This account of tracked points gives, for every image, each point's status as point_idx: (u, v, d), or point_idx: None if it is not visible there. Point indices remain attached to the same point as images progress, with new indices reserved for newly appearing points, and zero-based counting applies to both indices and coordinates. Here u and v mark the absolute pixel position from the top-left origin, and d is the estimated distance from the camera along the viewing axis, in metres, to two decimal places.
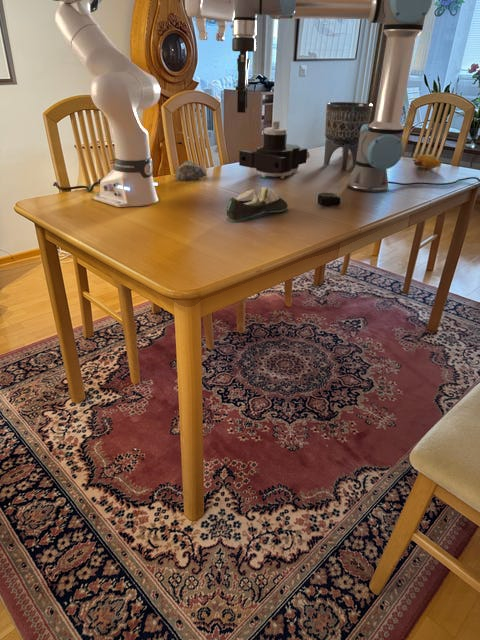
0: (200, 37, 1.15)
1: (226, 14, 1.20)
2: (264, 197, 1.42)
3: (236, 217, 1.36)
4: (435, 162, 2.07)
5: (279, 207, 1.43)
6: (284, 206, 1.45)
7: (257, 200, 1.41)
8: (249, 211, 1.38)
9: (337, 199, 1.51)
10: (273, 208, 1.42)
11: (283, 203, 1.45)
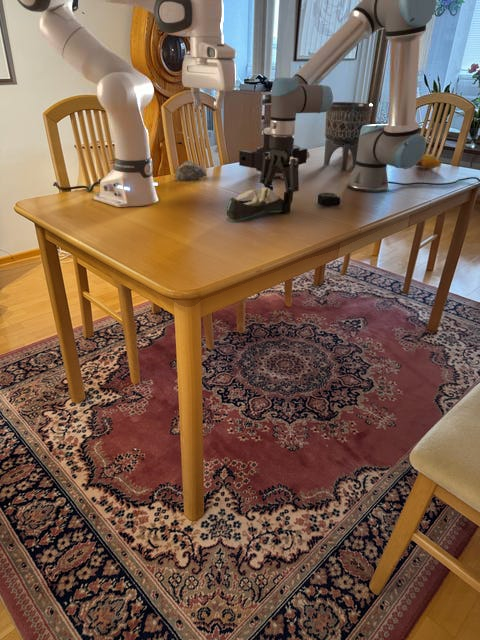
0: (218, 106, 1.24)
1: None
2: (264, 197, 1.42)
3: (236, 217, 1.36)
4: (435, 162, 2.07)
5: (279, 207, 1.43)
6: None
7: (257, 200, 1.41)
8: (249, 211, 1.38)
9: (337, 199, 1.51)
10: (273, 208, 1.42)
11: None
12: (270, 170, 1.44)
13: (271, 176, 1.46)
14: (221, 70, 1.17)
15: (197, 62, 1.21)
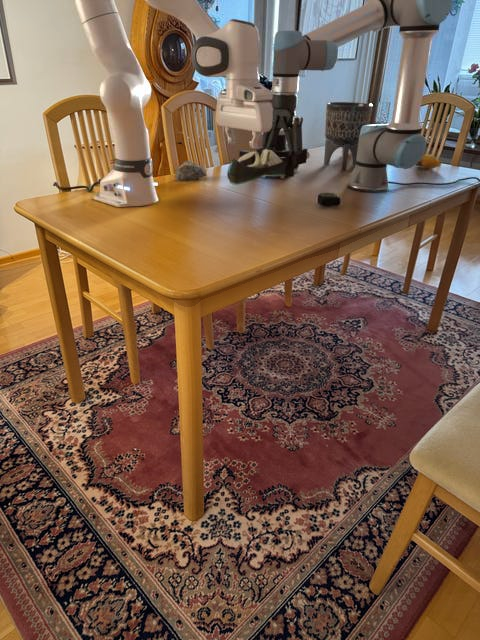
0: (254, 146, 1.25)
1: None
2: (266, 160, 1.37)
3: (237, 179, 1.31)
4: (435, 162, 2.07)
5: (282, 170, 1.38)
6: None
7: (259, 163, 1.35)
8: (251, 173, 1.32)
9: (337, 199, 1.51)
10: (276, 171, 1.36)
11: None
12: (272, 132, 1.38)
13: (274, 139, 1.40)
14: (259, 112, 1.17)
15: (233, 103, 1.22)
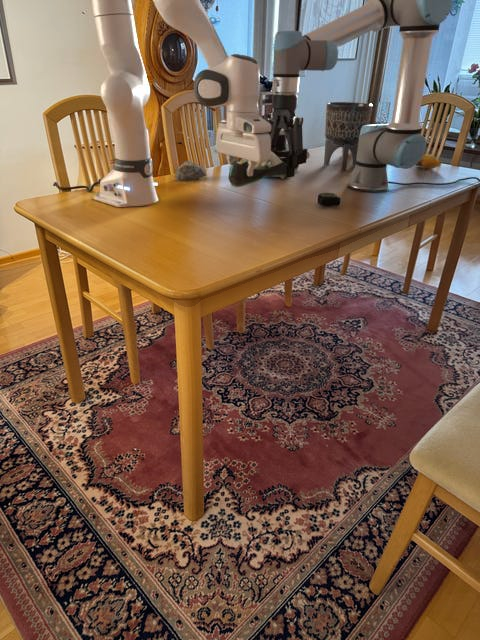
0: (249, 174, 1.29)
1: None
2: (267, 161, 1.37)
3: (239, 182, 1.31)
4: (435, 162, 2.07)
5: (283, 171, 1.37)
6: None
7: (260, 164, 1.35)
8: None
9: (337, 199, 1.51)
10: (276, 172, 1.36)
11: (286, 167, 1.39)
12: (273, 132, 1.38)
13: (274, 139, 1.40)
14: (257, 144, 1.21)
15: (233, 134, 1.25)
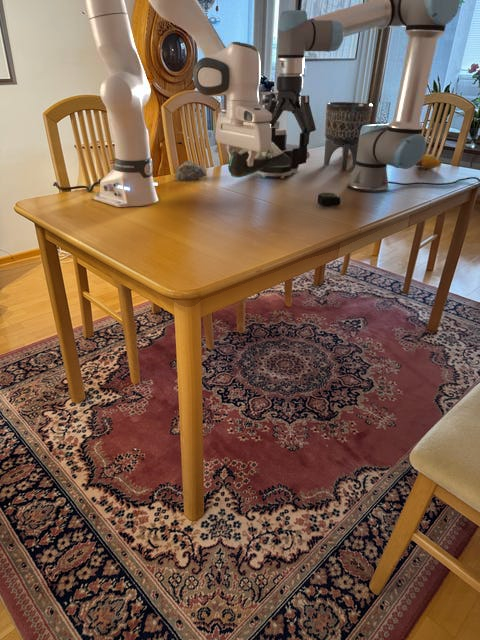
0: (250, 164, 1.28)
1: None
2: (267, 151, 1.35)
3: (239, 172, 1.29)
4: (435, 162, 2.07)
5: (283, 162, 1.36)
6: (288, 161, 1.38)
7: (260, 155, 1.34)
8: (252, 166, 1.31)
9: (337, 199, 1.51)
10: (277, 162, 1.34)
11: (287, 158, 1.38)
12: (275, 112, 1.37)
13: (275, 118, 1.39)
14: (258, 133, 1.19)
15: (233, 123, 1.24)
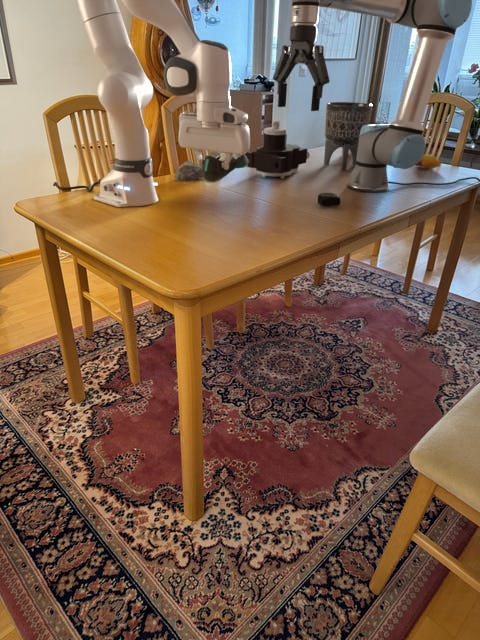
0: (227, 167, 1.24)
1: None
2: None
3: (217, 176, 1.24)
4: (435, 162, 2.07)
5: (246, 161, 1.35)
6: (248, 160, 1.37)
7: None
8: None
9: (337, 199, 1.51)
10: (243, 163, 1.32)
11: (246, 157, 1.37)
12: (287, 66, 1.33)
13: (287, 73, 1.35)
14: (241, 135, 1.16)
15: (207, 126, 1.18)
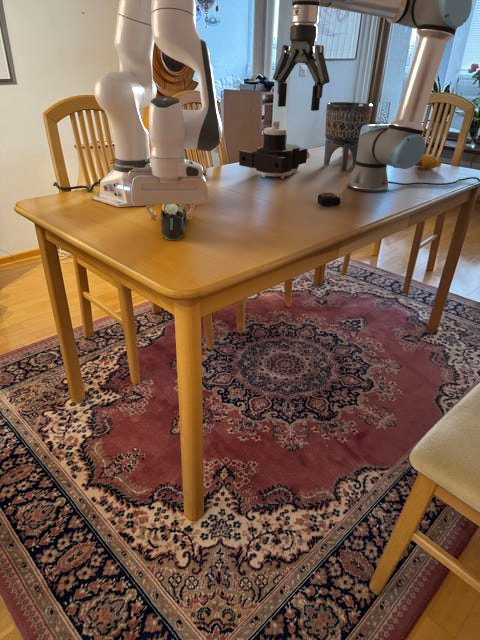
0: (191, 218, 1.23)
1: None
2: None
3: (181, 233, 1.23)
4: (435, 162, 2.07)
5: None
6: None
7: None
8: (183, 224, 1.26)
9: (337, 199, 1.51)
10: None
11: None
12: (287, 65, 1.33)
13: (287, 72, 1.35)
14: (204, 186, 1.18)
15: (168, 181, 1.15)
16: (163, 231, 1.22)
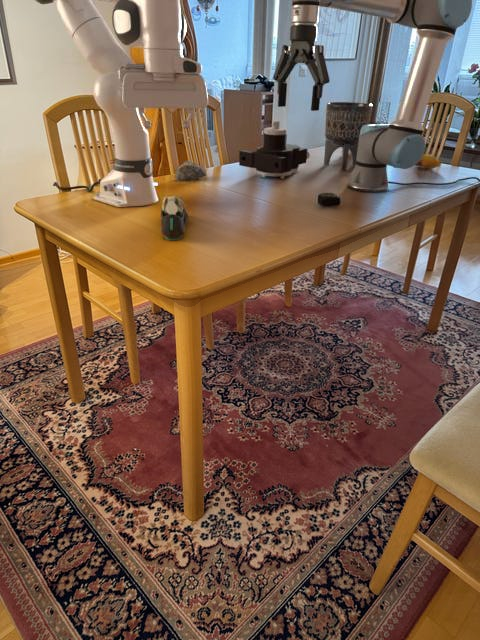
0: (189, 126, 1.12)
1: None
2: None
3: (181, 233, 1.23)
4: (435, 162, 2.07)
5: None
6: None
7: None
8: (183, 224, 1.26)
9: (337, 199, 1.51)
10: (187, 215, 1.34)
11: None
12: (287, 65, 1.33)
13: (287, 72, 1.35)
14: (204, 86, 1.06)
15: (163, 78, 1.04)
16: (163, 231, 1.22)
